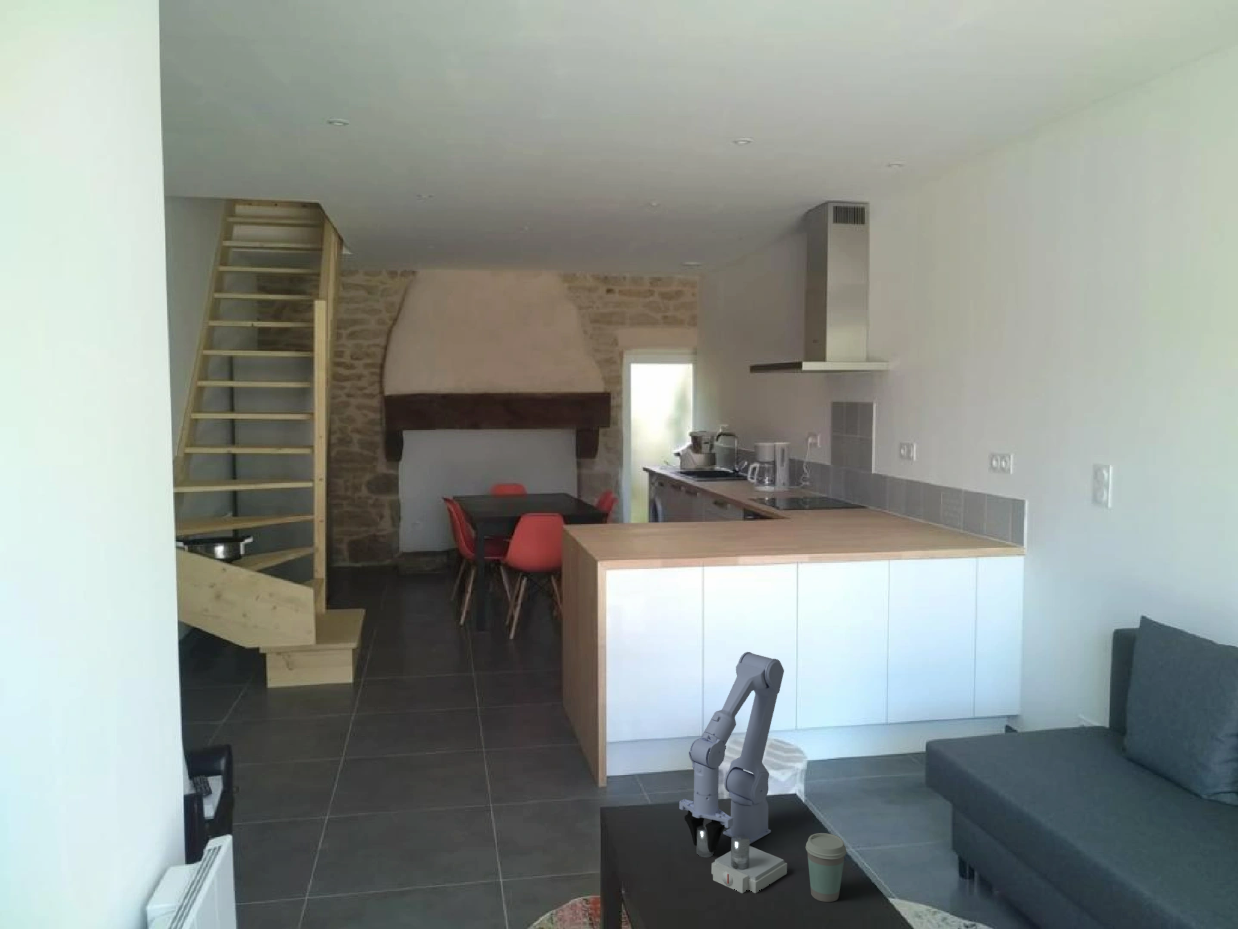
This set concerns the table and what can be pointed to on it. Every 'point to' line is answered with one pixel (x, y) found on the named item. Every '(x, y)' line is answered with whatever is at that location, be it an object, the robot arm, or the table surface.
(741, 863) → the cylinder
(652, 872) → the table surface
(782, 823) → the table surface
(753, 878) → the grey flat ridged box
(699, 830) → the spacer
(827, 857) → the coffee cup
